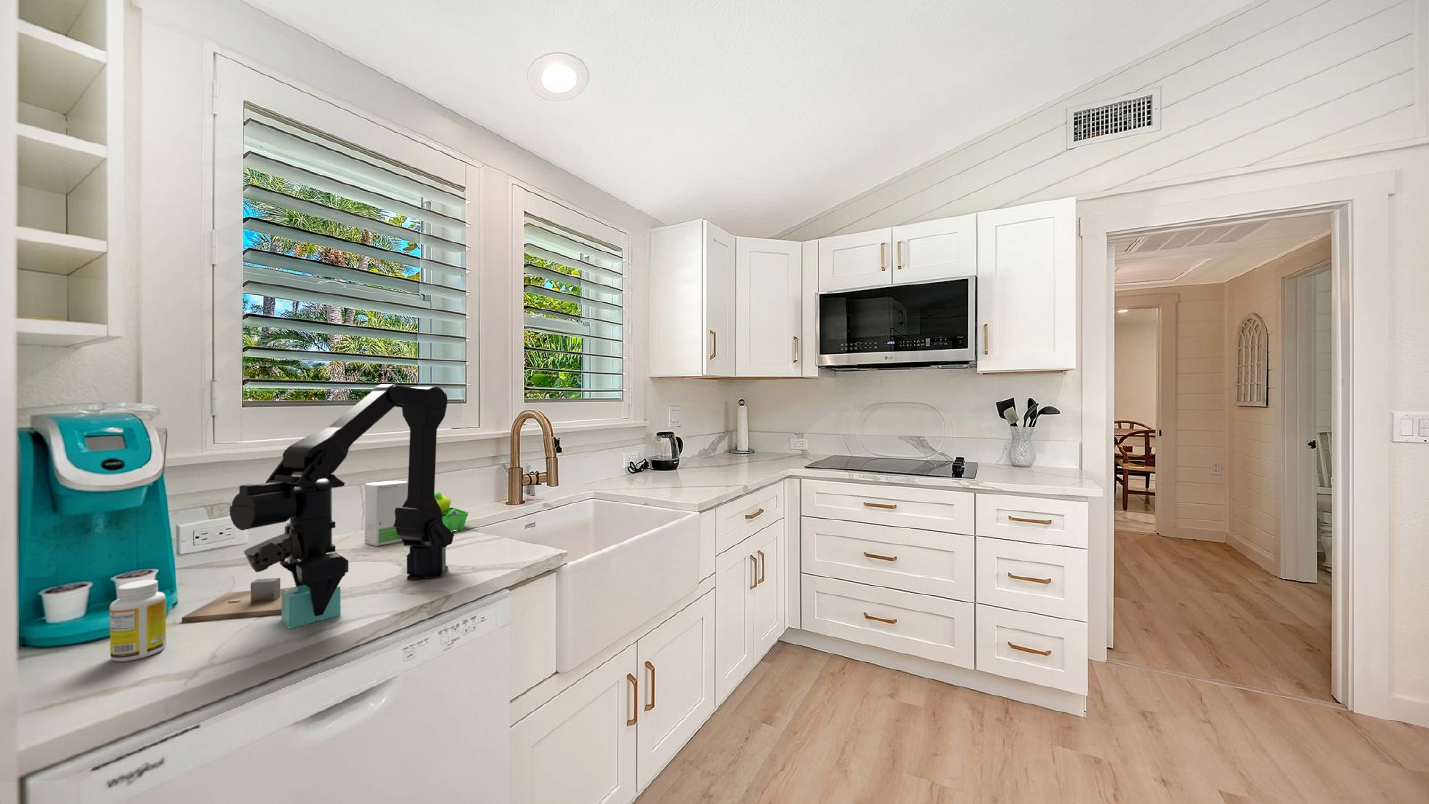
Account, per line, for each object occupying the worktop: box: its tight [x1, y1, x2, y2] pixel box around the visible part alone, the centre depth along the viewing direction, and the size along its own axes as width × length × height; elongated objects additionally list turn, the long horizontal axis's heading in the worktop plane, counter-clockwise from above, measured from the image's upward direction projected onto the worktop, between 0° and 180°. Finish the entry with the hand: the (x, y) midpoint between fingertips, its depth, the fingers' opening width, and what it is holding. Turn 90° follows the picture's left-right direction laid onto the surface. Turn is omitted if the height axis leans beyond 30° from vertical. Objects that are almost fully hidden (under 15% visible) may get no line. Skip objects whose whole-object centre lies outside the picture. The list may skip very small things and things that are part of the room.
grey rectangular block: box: [250, 577, 281, 602], centre depth 97 cm, size 4×2×4 cm, turn 104°
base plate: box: [181, 587, 288, 623], centre depth 97 cm, size 18×12×1 cm, turn 104°
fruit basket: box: [434, 491, 469, 531], centre depth 153 cm, size 11×9×11 cm
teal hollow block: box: [281, 584, 342, 629], centre depth 91 cm, size 7×6×6 cm
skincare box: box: [364, 480, 408, 547], centre depth 140 cm, size 8×7×16 cm
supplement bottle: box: [109, 579, 167, 662], centre depth 78 cm, size 6×6×10 cm
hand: (311, 608), depth 91 cm, fingers open, 9 cm apart
